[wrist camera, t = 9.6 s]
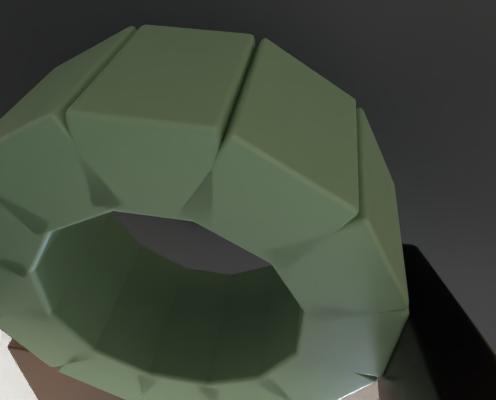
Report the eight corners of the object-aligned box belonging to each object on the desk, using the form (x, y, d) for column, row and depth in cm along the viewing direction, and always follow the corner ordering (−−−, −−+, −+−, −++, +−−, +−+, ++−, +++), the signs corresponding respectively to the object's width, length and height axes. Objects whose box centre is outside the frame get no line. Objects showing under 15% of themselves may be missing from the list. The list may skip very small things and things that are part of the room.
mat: (1244, -640, 4) (1334, -684, 4) (487, 376, 16) (490, 390, 16) (-463, -558, 6) (-518, -582, 6) (0, 300, 18) (-7, 311, 17)
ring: (440, 48, 6) (481, 159, 4) (352, 329, 11) (353, 444, 9) (-21, 7, 7) (-160, 87, 5) (76, 286, 12) (22, 385, 10)
